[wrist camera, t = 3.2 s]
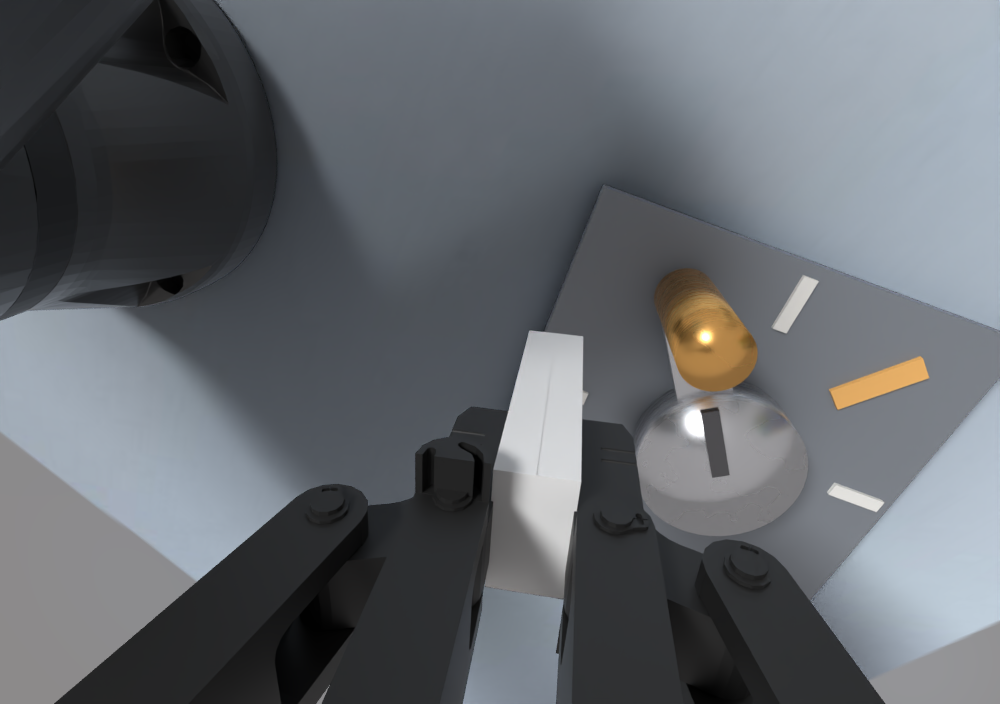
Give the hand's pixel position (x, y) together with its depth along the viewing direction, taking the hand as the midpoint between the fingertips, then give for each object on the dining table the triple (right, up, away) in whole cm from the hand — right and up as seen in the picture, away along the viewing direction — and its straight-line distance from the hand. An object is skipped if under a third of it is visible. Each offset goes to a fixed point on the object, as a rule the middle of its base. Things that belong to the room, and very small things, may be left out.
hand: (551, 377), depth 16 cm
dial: (+8, -1, +9) cm, 12 cm away
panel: (+8, -3, +11) cm, 14 cm away
